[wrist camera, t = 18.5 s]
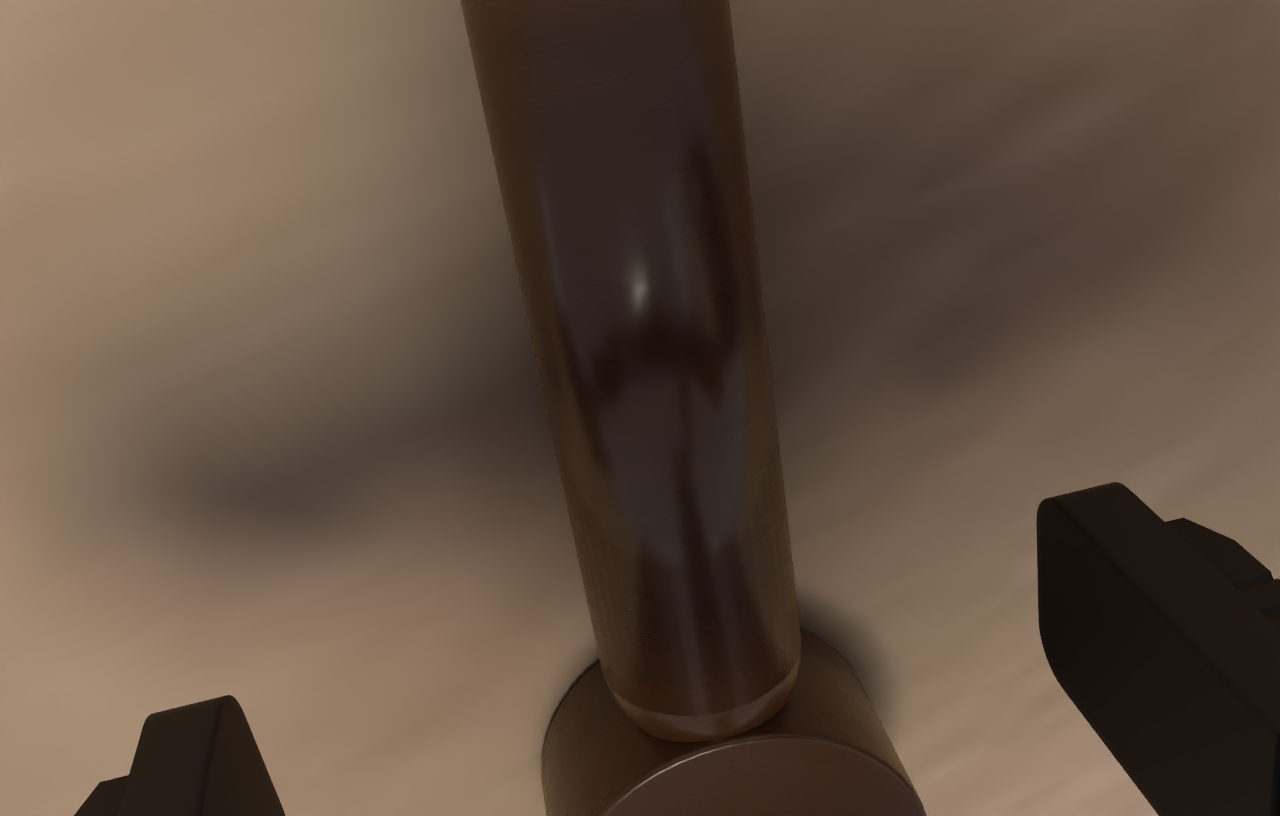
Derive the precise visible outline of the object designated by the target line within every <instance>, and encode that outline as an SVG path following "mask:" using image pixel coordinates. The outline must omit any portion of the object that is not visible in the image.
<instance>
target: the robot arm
mask: <svg viewBox="0 0 1280 816" xmlns="http://www.w3.org/2000/svg"><path fill="white" fill-rule="evenodd" d="M1037 564H1038V611H1039V629H1040V635H1041V640H1042V644H1043V648H1044V651H1045V654H1046V657H1047V660H1048V662H1049V665H1050V667H1051V669H1052V671H1053V673H1054V675H1055V677H1056V679H1057V681H1058V682H1059V684H1060V685H1061V687H1062V688H1063V689H1064V691H1065V692H1066V693H1067V695H1068V696H1069V697H1070V699H1071V700H1072V701H1073V703H1074V704H1075V705H1076V707H1077V708H1078V709H1079V711H1080V712H1081V713H1082V715H1083V716H1084V717H1085V719H1086V720H1087V721H1088V722H1089V724H1090V725H1091V726H1092V728H1093V729H1094V730H1095V732H1096V733H1097V734H1098V736H1099V737H1100V738H1101V740H1102V741H1103V742H1104V744H1105V745H1106V746H1107V748H1108V749H1109V750H1110V752H1111V753H1112V754H1113V756H1114V757H1115V758H1116V760H1117V761H1118V762H1119V763H1120V765H1121V766H1122V767H1123V769H1124V770H1125V771H1126V773H1127V774H1128V775H1129V777H1130V778H1131V779H1132V781H1133V782H1134V783H1135V785H1136V786H1137V787H1138V789H1139V790H1140V791H1141V793H1142V794H1143V795H1144V797H1145V798H1146V799H1147V800H1148V802H1149V803H1150V804H1151V806H1152V807H1153V808H1154V810H1155V811H1156V812H1157V814H1158V815H1159V816H1280V579H1275V580H1274V579H1273V577H1272V575H1271V572H1270V571H1269V570H1268V569H1267V568H1266V567H1265V566H1264V565H1262V564H1261V563H1260V562H1259V561H1258V560H1257V559H1256V558H1254V557H1253V556H1252V555H1251V554H1250V553H1249V552H1247V551H1246V550H1245V549H1244V548H1243V547H1242V546H1241V545H1239V544H1238V543H1237V542H1236V541H1235V540H1233V539H1231V538H1228V537H1226V536H1224V535H1221V534H1219V533H1217V532H1215V531H1212V530H1210V529H1208V528H1206V527H1203V526H1201V525H1199V524H1197V523H1194V522H1192V521H1190V520H1188V519H1185V518H1180V519H1176V520H1171V521H1167V522H1164V521H1163V520H1162V519H1161V518H1160V517H1159V516H1158V515H1156V514H1155V513H1154V512H1153V511H1152V510H1151V509H1150V508H1149V507H1148V506H1147V505H1146V504H1145V503H1143V502H1142V501H1141V500H1140V499H1139V498H1138V497H1137V496H1136V495H1135V494H1134V493H1133V492H1132V491H1131V490H1129V489H1128V488H1127V487H1126V486H1124V485H1123V484H1121V483H1118V482H1113V483H1109V484H1105V485H1100V486H1096V487H1092V488H1088V489H1084V490H1080V491H1076V492H1072V493H1068V494H1063V495H1059V496H1055V497H1051V498H1047V499H1044V500H1043V501H1041V503H1040V505H1039V507H1038V511H1037ZM74 816H285V813H284V810H283V808H282V805H281V803H280V800H279V798H278V795H277V793H276V791H275V788H274V786H273V783H272V781H271V778H270V776H269V773H268V771H267V769H266V766H265V764H264V761H263V759H262V756H261V754H260V751H259V749H258V746H257V744H256V742H255V739H254V737H253V734H252V732H251V729H250V727H249V724H248V722H247V720H246V717H245V715H244V712H243V710H242V708H241V706H240V705H239V703H238V701H237V700H236V699H235V698H234V697H233V696H231V695H227V696H223V697H219V698H215V699H211V700H206V701H202V702H198V703H194V704H190V705H186V706H182V707H178V708H173V709H169V710H165V711H161V712H157V713H153V714H150V715H149V716H148V717H147V719H146V720H145V723H144V725H143V729H142V732H141V736H140V739H139V743H138V746H137V750H136V753H135V757H134V760H133V763H132V767H131V770H130V774H129V775H128V776H123V777H119V778H115V779H111V780H107V781H103V782H100V783H99V784H98V785H97V787H96V788H95V789H94V791H93V792H92V793H91V794H90V796H89V797H88V798H87V800H86V801H85V802H84V803H83V805H82V806H81V807H80V808H79V810H78V811H77V812H76V814H75V815H74Z"/></svg>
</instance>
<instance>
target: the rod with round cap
mask: <svg viewBox="0 0 1280 816" xmlns="http://www.w3.org/2000/svg"><path fill="white" fill-rule="evenodd" d="M461 5H462V10H463V15H464V19H465V24H466V29H467V34H468V38H469V43H470V48H471V53H472V57H473V62H474V67H475V71H476V76H477V81H478V86H479V90H480V95H481V100H482V105H483V109H484V114H485V119H486V124H487V128H488V133H489V138H490V142H491V147H492V152H493V157H494V161H495V166H496V171H497V176H498V180H499V185H500V190H501V195H502V199H503V204H504V209H505V214H506V218H507V223H508V228H509V232H510V237H511V242H512V247H513V251H514V256H515V261H516V266H517V270H518V275H519V280H520V285H521V289H522V294H523V299H524V304H525V308H526V313H527V318H528V322H529V327H530V332H531V337H532V341H533V346H534V351H535V356H536V360H537V365H538V370H539V375H540V379H541V384H542V389H543V393H544V398H545V403H546V408H547V412H548V417H549V422H550V427H551V431H552V436H553V441H554V446H555V450H556V455H557V460H558V465H559V469H560V474H561V479H562V483H563V488H564V493H565V498H566V502H567V507H568V512H569V517H570V521H571V526H572V531H573V536H574V540H575V545H576V550H577V555H578V559H579V564H580V569H581V573H582V578H583V583H584V588H585V592H586V597H587V602H588V607H589V611H590V616H591V621H592V626H593V630H594V635H595V640H596V644H597V649H598V654H599V659H600V662H599V663H597V664H596V665H595V666H594V667H593V668H592V669H591V670H589V671H588V672H587V673H586V674H585V675H584V676H583V677H582V679H581V680H580V681H579V682H578V683H577V684H576V685H575V686H574V687H573V688H572V690H571V691H570V693H569V694H568V695H567V697H566V698H565V700H564V701H563V703H562V704H561V706H560V708H559V710H558V711H557V713H556V715H555V717H554V719H553V721H552V723H551V725H550V728H549V731H548V734H547V737H546V740H545V744H544V749H543V755H542V775H541V777H542V785H543V792H544V800H545V807H546V815H547V816H926V813H925V810H924V807H923V804H922V802H921V800H920V798H919V796H918V794H917V792H916V790H915V788H914V786H913V784H912V782H911V780H910V778H909V776H908V775H907V773H906V771H905V769H904V767H903V765H902V763H901V761H900V759H899V757H898V755H897V753H896V751H895V749H894V747H893V745H892V743H891V741H890V739H889V737H888V735H887V733H886V731H885V729H884V727H883V725H882V724H881V722H880V720H879V718H878V716H877V714H876V712H875V710H874V708H873V706H872V704H871V702H870V700H869V698H868V696H867V694H866V692H865V690H864V688H863V686H862V684H861V683H860V681H859V679H858V677H857V675H856V674H855V672H854V670H853V669H852V668H851V666H850V665H849V664H848V663H847V661H846V660H845V659H844V658H843V657H842V656H841V655H840V654H839V653H838V652H837V651H836V650H835V649H833V648H832V647H831V646H830V645H829V644H827V643H826V642H824V641H823V640H821V639H820V638H818V637H816V636H815V635H813V634H811V633H809V632H807V631H805V630H803V629H801V628H800V623H799V615H798V606H797V597H796V588H795V579H794V570H793V562H792V553H791V544H790V535H789V526H788V518H787V509H786V500H785V491H784V482H783V473H782V465H781V456H780V447H779V438H778V429H777V421H776V412H775V403H774V394H773V385H772V376H771V368H770V359H769V350H768V341H767V332H766V324H765V315H764V306H763V297H762V288H761V279H760V271H759V262H758V253H757V244H756V235H755V227H754V218H753V209H752V200H751V191H750V182H749V174H748V165H747V156H746V147H745V138H744V130H743V121H742V112H741V103H740V94H739V85H738V77H737V68H736V59H735V50H734V41H733V33H732V24H731V15H730V6H729V0H461Z"/></svg>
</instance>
